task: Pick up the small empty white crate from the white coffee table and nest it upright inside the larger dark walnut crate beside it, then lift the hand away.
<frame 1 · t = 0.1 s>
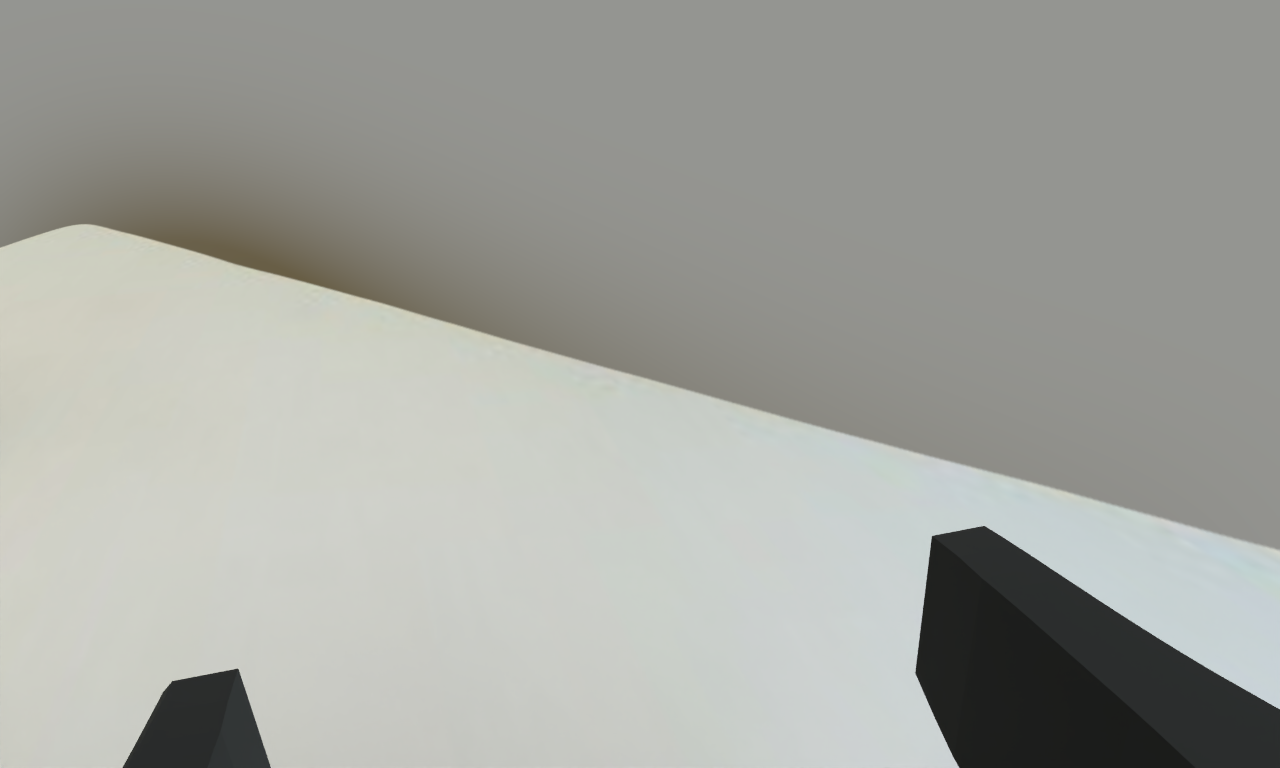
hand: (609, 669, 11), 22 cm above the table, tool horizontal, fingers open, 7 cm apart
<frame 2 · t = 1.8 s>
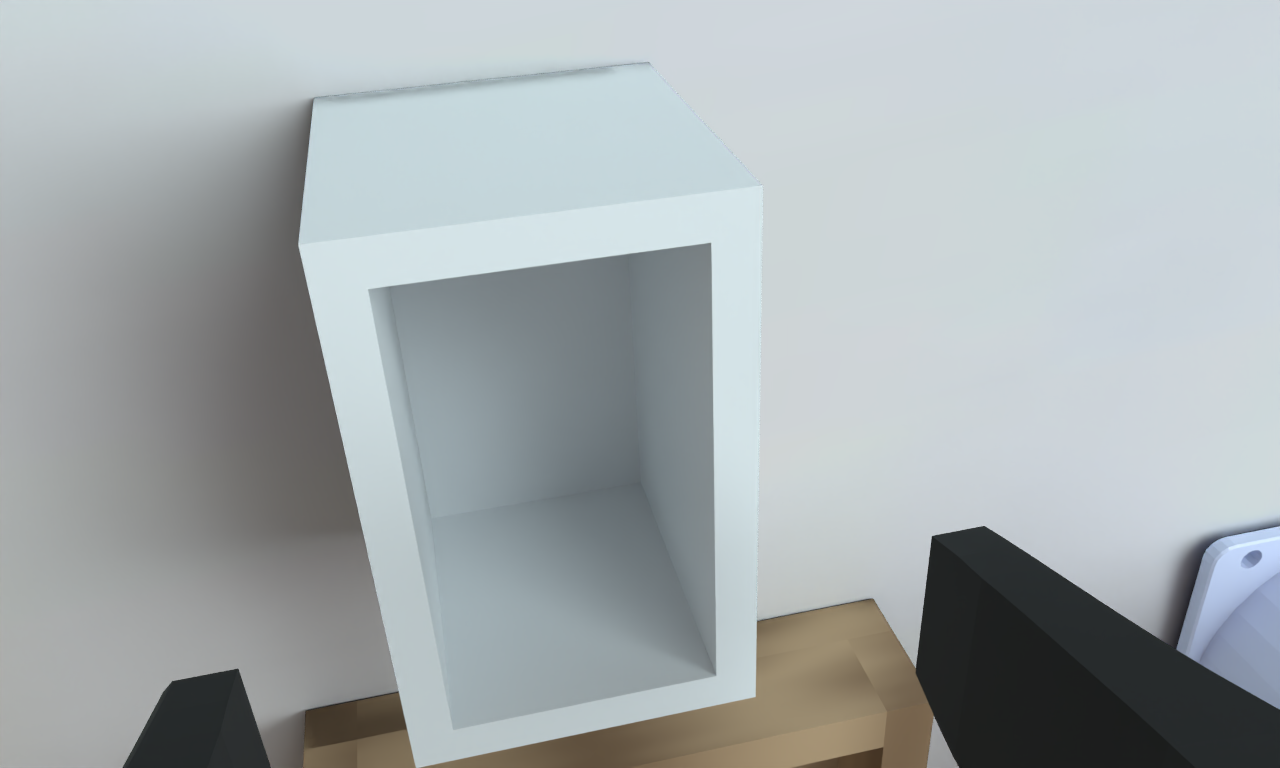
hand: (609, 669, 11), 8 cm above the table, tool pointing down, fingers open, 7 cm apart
white crate: (513, 317, 18), on the table
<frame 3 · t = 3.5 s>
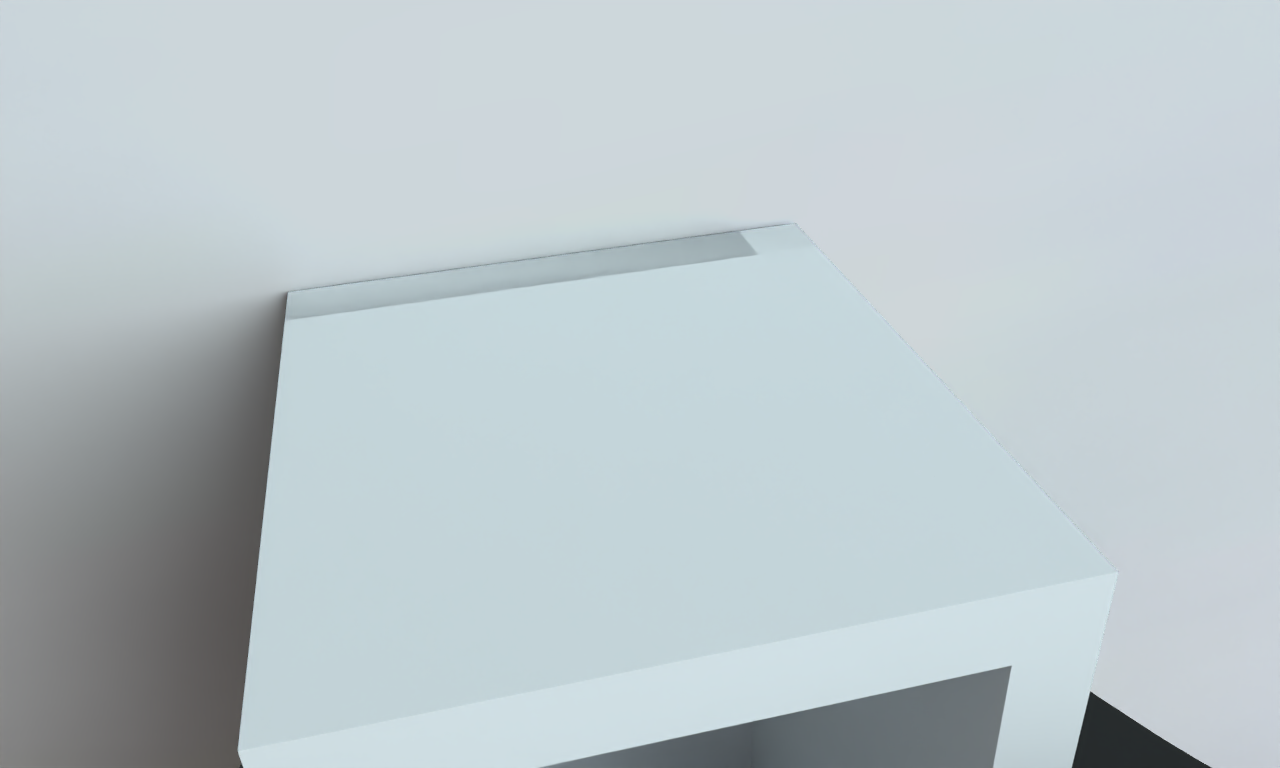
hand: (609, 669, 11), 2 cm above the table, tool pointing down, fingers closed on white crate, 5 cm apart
white crate: (581, 570, 13), on the table, touching gripper
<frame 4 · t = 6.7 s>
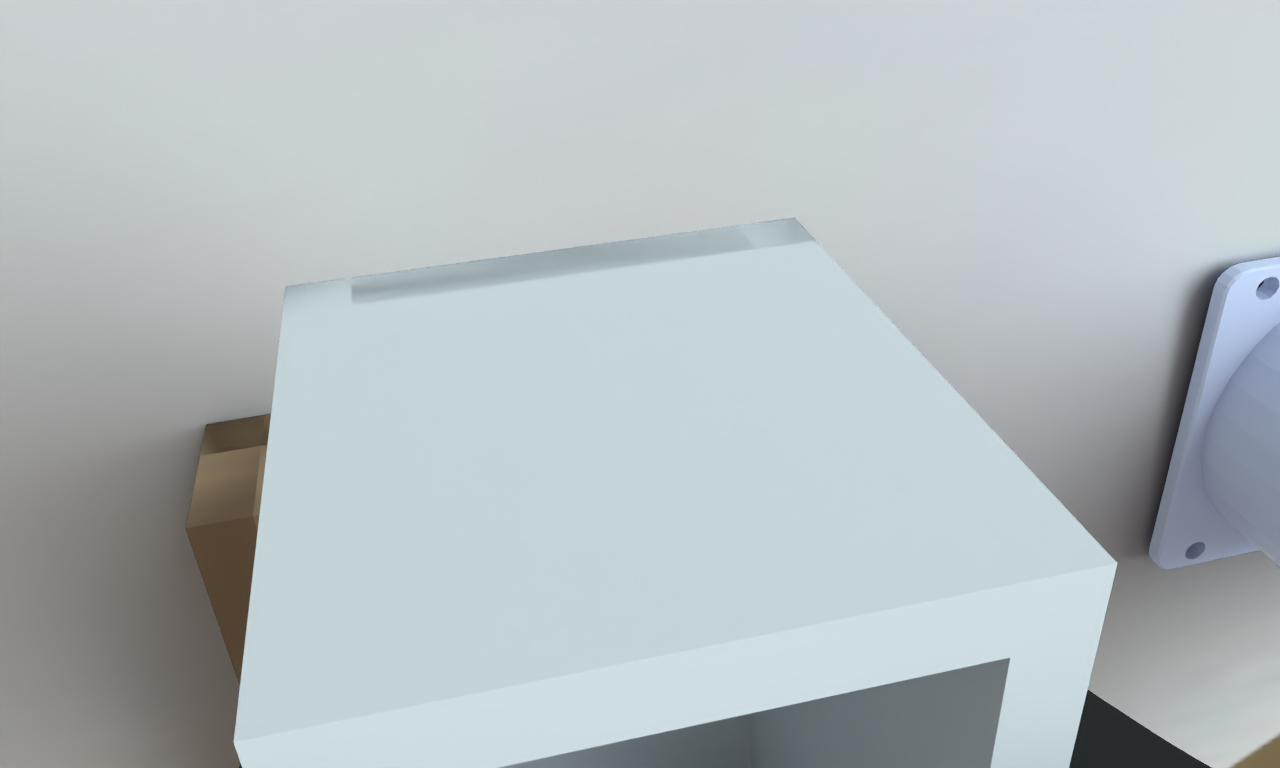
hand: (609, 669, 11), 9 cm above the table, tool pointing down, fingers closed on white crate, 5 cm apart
white crate: (580, 566, 13), point 8 cm above the table, touching gripper
walnut crate: (578, 677, 24), on the table
when the fingers open (4 cm above the table, at t = 9.9 s): white crate stays where it is, resting on walnut crate.
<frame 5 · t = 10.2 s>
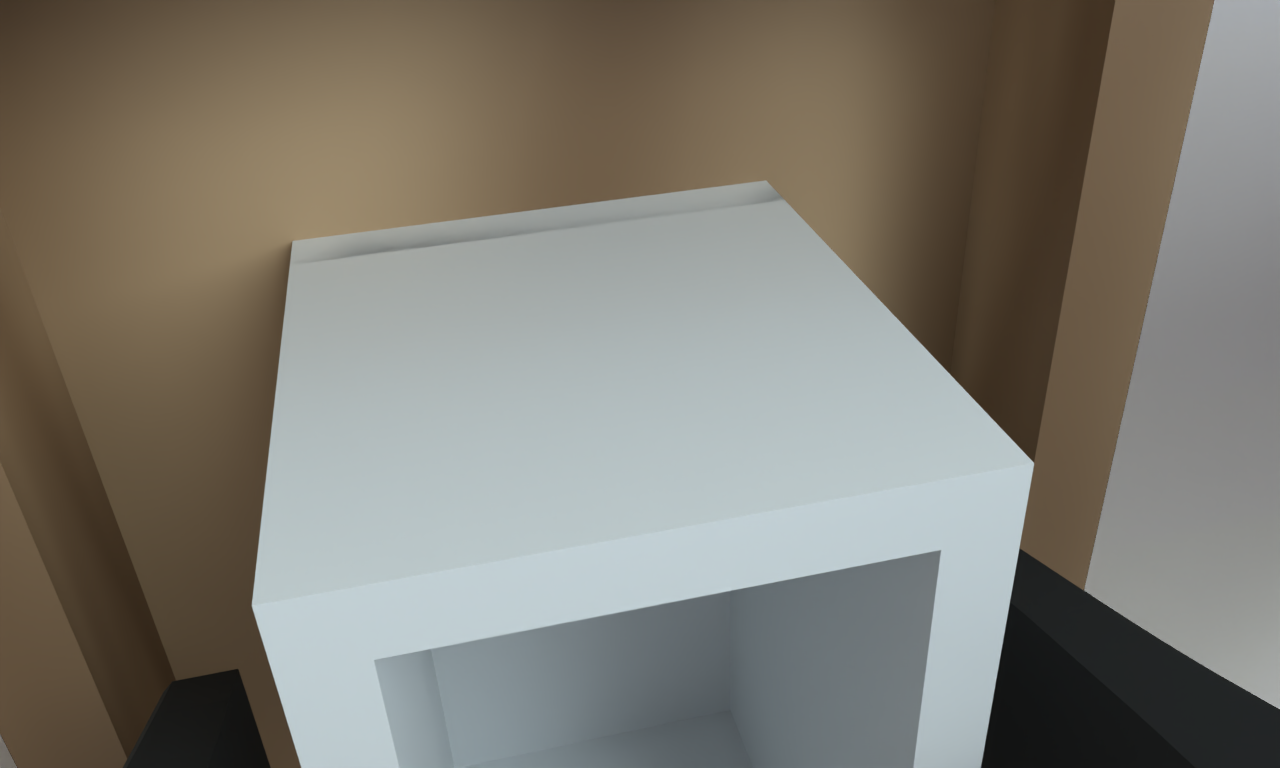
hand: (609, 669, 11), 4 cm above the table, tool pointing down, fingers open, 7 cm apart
white crate: (568, 512, 13), point 1 cm above the table, touching walnut crate
walnut crate: (554, 473, 14), on the table
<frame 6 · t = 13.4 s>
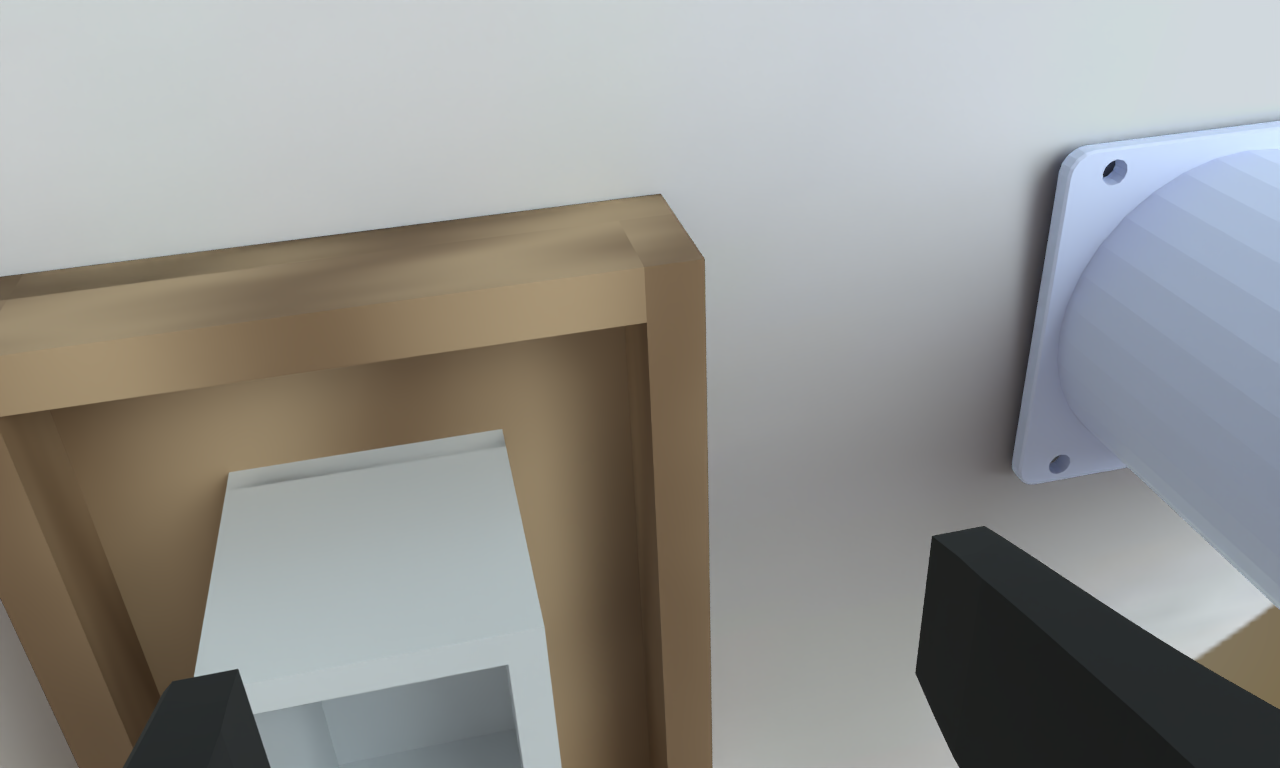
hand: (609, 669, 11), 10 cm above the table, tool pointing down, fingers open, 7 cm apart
white crate: (402, 610, 22), point 1 cm above the table, touching walnut crate
walnut crate: (400, 582, 23), on the table
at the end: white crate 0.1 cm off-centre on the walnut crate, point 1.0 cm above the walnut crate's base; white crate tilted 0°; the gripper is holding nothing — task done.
